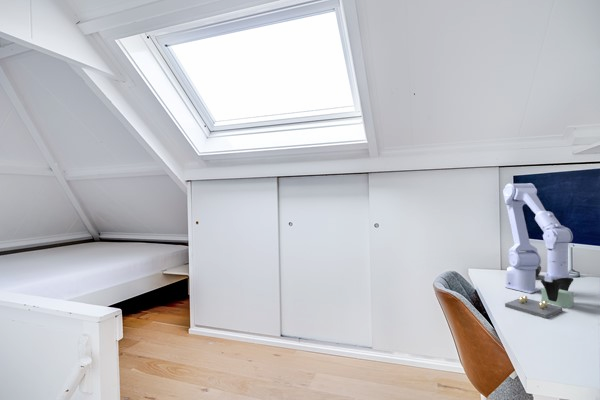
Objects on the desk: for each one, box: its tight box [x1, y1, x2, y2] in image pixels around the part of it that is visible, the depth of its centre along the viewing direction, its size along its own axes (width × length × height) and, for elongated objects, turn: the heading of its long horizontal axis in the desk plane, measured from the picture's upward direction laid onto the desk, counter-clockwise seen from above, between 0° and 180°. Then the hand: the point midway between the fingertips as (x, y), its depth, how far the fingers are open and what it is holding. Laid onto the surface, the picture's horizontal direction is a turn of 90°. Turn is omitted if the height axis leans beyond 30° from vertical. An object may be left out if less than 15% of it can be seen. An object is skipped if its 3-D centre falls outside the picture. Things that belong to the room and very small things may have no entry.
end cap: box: [535, 265, 542, 278], centre depth 146 cm, size 10×7×7 cm
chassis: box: [504, 295, 563, 319], centre depth 106 cm, size 12×12×3 cm
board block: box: [541, 286, 575, 309], centre depth 111 cm, size 8×4×5 cm, turn 30°
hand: (557, 298), depth 111 cm, fingers open, 7 cm apart
